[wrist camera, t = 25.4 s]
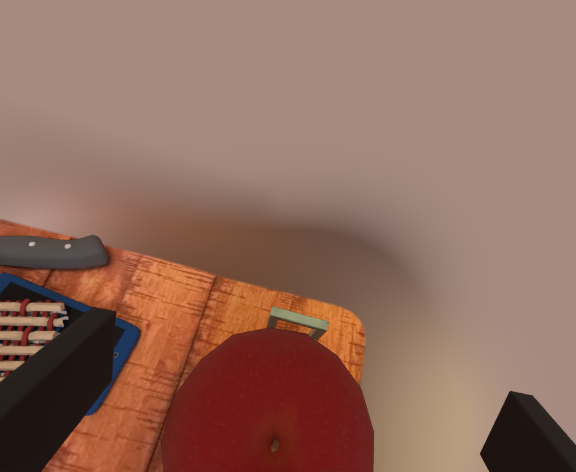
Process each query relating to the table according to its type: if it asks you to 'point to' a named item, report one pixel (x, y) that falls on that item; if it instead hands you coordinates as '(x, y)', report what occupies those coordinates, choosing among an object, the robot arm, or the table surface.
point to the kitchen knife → (52, 252)
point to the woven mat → (26, 330)
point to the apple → (269, 410)
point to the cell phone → (71, 320)
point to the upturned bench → (298, 321)
